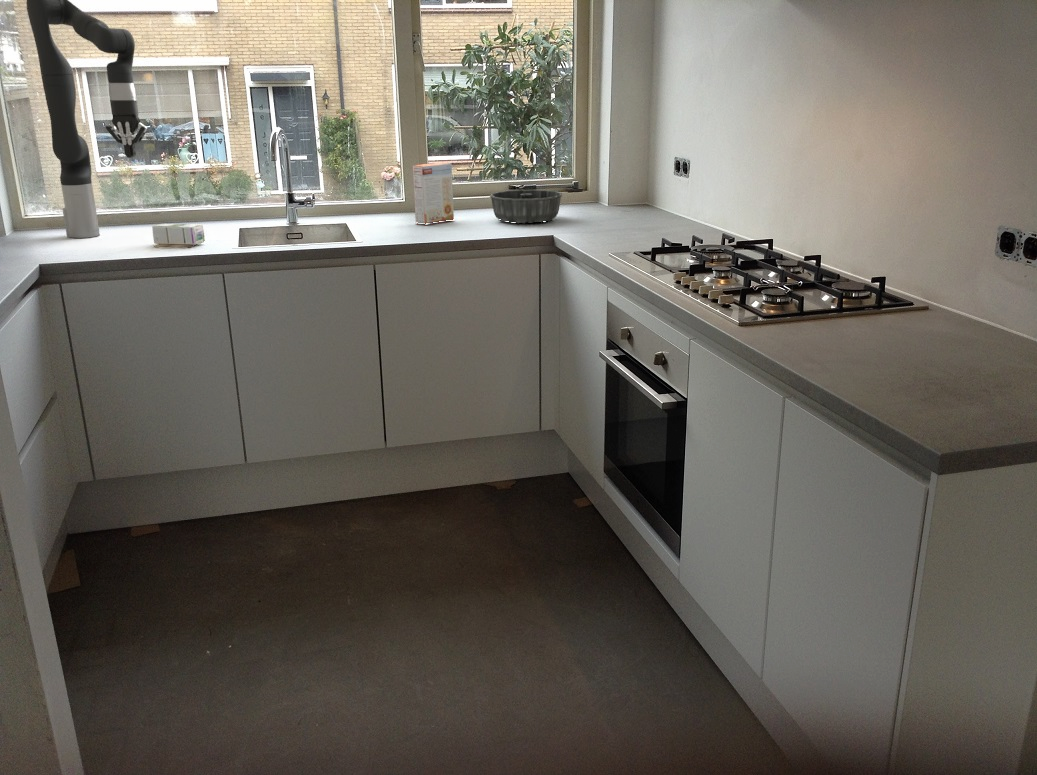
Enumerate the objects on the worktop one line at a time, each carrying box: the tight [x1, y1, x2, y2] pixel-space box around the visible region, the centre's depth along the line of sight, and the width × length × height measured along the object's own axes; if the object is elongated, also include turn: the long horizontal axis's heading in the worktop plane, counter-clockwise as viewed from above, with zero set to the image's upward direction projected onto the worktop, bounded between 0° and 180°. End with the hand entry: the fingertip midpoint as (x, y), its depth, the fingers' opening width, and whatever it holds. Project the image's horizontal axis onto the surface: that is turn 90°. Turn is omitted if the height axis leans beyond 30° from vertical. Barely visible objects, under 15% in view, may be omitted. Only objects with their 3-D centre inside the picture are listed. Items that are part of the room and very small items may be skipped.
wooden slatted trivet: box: [153, 244, 194, 248], centre depth 287 cm, size 12×12×1 cm
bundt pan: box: [489, 189, 563, 224], centre depth 329 cm, size 26×26×10 cm
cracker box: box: [412, 162, 455, 224], centre depth 324 cm, size 14×6×21 cm, turn 136°
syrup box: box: [151, 223, 206, 246], centre depth 285 cm, size 6×6×14 cm
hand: (130, 157), depth 280 cm, fingers closed
